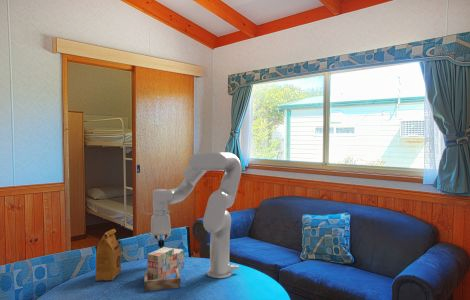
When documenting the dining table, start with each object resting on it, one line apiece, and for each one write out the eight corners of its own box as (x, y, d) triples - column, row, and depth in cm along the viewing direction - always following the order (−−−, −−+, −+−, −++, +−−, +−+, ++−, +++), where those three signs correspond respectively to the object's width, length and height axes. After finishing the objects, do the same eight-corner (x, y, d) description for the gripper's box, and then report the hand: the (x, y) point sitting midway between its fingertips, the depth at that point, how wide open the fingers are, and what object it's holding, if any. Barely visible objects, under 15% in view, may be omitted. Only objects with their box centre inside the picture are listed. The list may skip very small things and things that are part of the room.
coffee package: (124, 272, 165) (125, 228, 165) (112, 282, 152) (113, 234, 152) (105, 271, 166) (105, 227, 166) (91, 281, 153) (92, 233, 153)
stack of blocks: (174, 265, 176) (174, 242, 176) (184, 267, 173) (184, 243, 173) (147, 279, 157) (147, 253, 157) (157, 282, 154) (158, 255, 154)
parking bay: (177, 276, 160) (177, 268, 160) (180, 287, 148) (180, 278, 148) (144, 279, 156) (144, 271, 156) (144, 290, 144) (144, 281, 144)
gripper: (174, 210, 182) (174, 244, 182) (145, 212, 178) (146, 247, 178) (175, 212, 175) (176, 248, 175) (145, 215, 171) (146, 251, 171)
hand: (161, 247), depth 176 cm, fingers closed
